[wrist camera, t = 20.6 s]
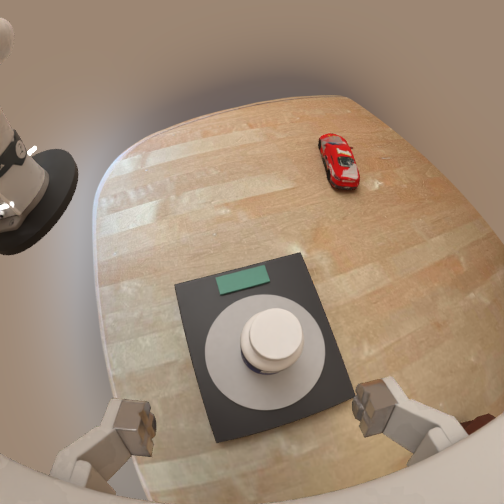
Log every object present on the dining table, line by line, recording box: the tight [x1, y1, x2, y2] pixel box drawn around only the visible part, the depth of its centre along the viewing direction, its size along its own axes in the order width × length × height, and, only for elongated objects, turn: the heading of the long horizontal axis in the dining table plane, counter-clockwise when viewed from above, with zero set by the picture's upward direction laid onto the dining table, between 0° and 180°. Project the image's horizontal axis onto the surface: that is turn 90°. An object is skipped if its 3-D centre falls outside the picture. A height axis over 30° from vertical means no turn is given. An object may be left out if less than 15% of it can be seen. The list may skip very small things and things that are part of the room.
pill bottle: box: [240, 308, 304, 375], centre depth 25 cm, size 5×5×10 cm
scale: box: [175, 252, 355, 443], centre depth 31 cm, size 16×19×3 cm
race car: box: [318, 134, 360, 190], centre depth 45 cm, size 13×5×4 cm, turn 1°
